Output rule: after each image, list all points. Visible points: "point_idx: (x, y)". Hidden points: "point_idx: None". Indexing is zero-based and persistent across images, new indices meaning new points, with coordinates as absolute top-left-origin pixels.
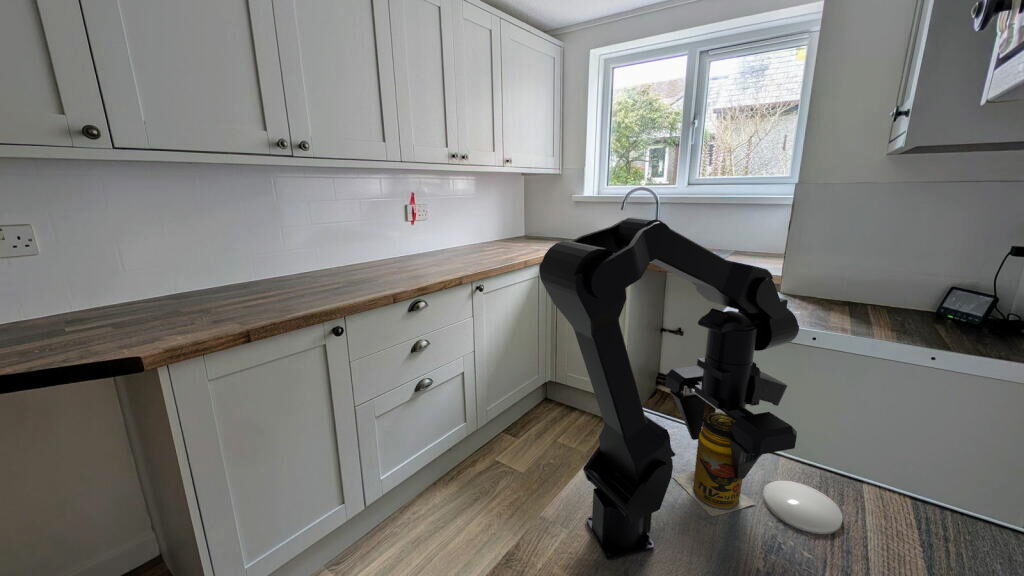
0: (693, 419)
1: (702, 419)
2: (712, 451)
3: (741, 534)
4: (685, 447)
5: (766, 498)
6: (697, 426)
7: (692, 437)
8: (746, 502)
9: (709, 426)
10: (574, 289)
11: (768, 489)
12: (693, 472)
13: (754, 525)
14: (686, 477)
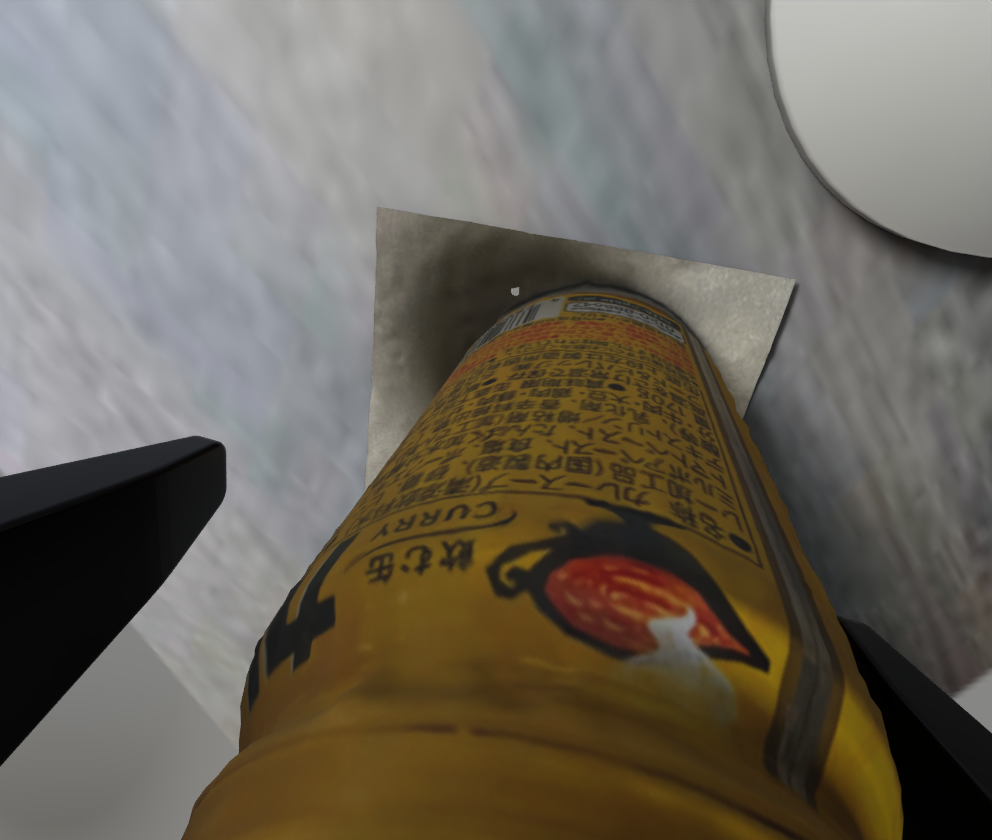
0: (7, 676)
1: (2, 544)
2: None
3: (852, 552)
4: (144, 180)
5: (853, 193)
6: (106, 556)
7: (206, 522)
8: (746, 319)
9: None
10: None
11: (815, 62)
12: (381, 365)
13: (874, 443)
14: (401, 437)
